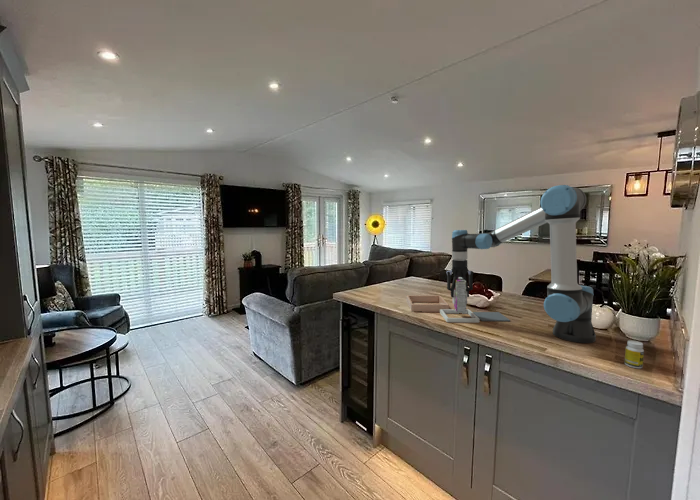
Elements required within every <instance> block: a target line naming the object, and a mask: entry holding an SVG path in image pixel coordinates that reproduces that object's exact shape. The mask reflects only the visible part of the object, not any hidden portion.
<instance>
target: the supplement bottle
mask: <svg viewBox="0 0 700 500" xmlns="http://www.w3.org/2000/svg"><path fill="white" fill-rule="evenodd" d="M624 350H625V351H624V353H625V355H624V365H626V366H627V367H630V368H634V369H638V370H639V369H643V368H644V367H643V366H644V356H645V350H644V343H643V342H641V341H637V340H629V339H628V340H627V344H626V346H625V349H624Z"/></svg>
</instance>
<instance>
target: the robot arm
mask: <svg viewBox="0 0 700 500" xmlns="http://www.w3.org/2000/svg"><path fill="white" fill-rule="evenodd" d="M586 204H587V195H586V194H585V192H584V190H582V189H581V188H578V187H577V186H576V187H575V186H570V185H568V184H561V185H560V184H559V185H558V184H557V185H554V186H552V187H550V188H549V187H548V189H546V190H545V192H543V194H542V196H541V198H540V207H537V208H536V209H534V210H532V211H530V212H528V213H526V214H524V215H521V216H520V217H518V218H516V219H514V220H512V221H509V222H507V223H505V224H504V225H501V226H500V227H498V228H496V229H494V230H492V231H490V232H485V233H484V232H483V233H469V232H468V230H467V229H454V230H453V231H452V232H451V233H452V235H451V243H452V246H451V249H452V250H451V251H452V252H451V259H452V261H451V270H447V271H446V272H445V273H446V276H447V278H446V280H447V281H446V290H447V291H450V297H451V298H452V304H453V305H454V304H455V291H454V289H455V283H456V280H457V279H458V277H462V279H465V280H466V305H468V298H469V297H470V291H473V289H474V284H473V281H474V279H473V277H474V276H473V275H474V271H473V270H469V269H468V268H469V267H468V250H469V249H472V250H474V249H475V250H489V249H490V248H495V247H499V246H500V245H501V244H503V243H504V242H507V241H508V240H511V239H513V238H516V237H518V236H520V235H523V234H525V233H527V232H529V231H531V230H534V229H536V228H538V227H540V226H543V225H545V224H548V225H549V246H550V247H549V249H550V251H549V252H550V270H551V271H550V275H551V276H550V277H551V282H550V283H549V284H548V285H547V287H546V289H547V290H546V292H547V294H546V295H547V297H545V299H544V302H543V309H544V311H545V312H546V315H548V316H549V317H550V319H552V320H554V321H555V324H554V326H553V328H552V334H553V336H555V337H556V338H559V339H561V340H563V341H564V340H565V341H568V342H574V343H578V344H579V343H580V344H590V343H595V342H596V339H597V335H596V331H595V329H594V328H595V327H594V325H593V323H592V319H593V318H592V317H593V316H592V315H593V304H594V302H593V300H594V289H593V287H591V286H589V285H588V286H587V285H582V284H579V283H578V263H577V261H578V260H577V256H578V255H577V230H576V229H577V228H576V224H577V222H578V221H579V220H580V219H581V211H582V210H583V209H584V207H585V205H586ZM467 274H468V280H467V276H466V275H467ZM452 275H453V279H452ZM451 279H452V280H451ZM451 281H452V282H451Z"/></svg>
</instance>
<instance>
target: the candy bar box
mask: <svg viewBox="0 0 700 500" xmlns="http://www.w3.org/2000/svg"><path fill="white" fill-rule="evenodd" d="M466 280H467V279H466ZM466 280H465V279H462V277H458V279H457V280H456V283H455V289H454V291H455V304H453V307H454V309H456V311H457V312H466V309H467V304H466Z"/></svg>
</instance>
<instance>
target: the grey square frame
mask: <svg viewBox="0 0 700 500" xmlns="http://www.w3.org/2000/svg"><path fill="white" fill-rule="evenodd" d="M473 312H474V311H472V310H470V309H467V308H466V312H457V311H456V309H455V308H454V309H450V308H449V309H440V312H439V314H440V315H441V317H443V319H444V321H445V322H447V323H480V319H479V318H478V317H477V316H476V315H475V314H474V313H473ZM459 313H462V314H463V315H464V314H467V315H469V316H470V317H448V314H459Z"/></svg>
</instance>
